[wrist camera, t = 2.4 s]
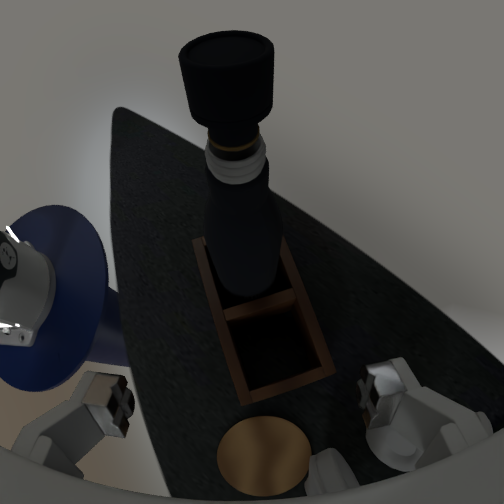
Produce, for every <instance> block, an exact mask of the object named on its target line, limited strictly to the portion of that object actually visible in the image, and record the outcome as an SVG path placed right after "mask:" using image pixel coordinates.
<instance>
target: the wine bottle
mask: <svg viewBox="0 0 504 504" xmlns="http://www.w3.org/2000/svg"><path fill="white" fill-rule="evenodd" d="M178 58H179V62H180V67H181V72H182V76H183V81H184V86H185V90H186V95H187V100H188V104H189V109H190V112H191V116H192V117H193V119H194V120H195V121H196V122H197V123H198V124H201V125H203V126H205V127H207V128H208V140H207V145H206V148H205V156H206V159H207V162H206V167H205V173H206V178H207V182H208V186H209V190H210V194H209V197H208V200H207V203H206V206H205V214H204V226H203V230H204V238H205V242H206V245H207V248H208V251H209V253H210V256H211V258H212V261H213V264H214V266H215V269H216V272H217V274H218V277H219V279H220V282H221V285H222V287H223V290H224V292H225V294H226V296H227V297H228V299H229V300H230V301H231V302H233V303H234V304H235V305H240V304H244V303H247V302H250V301H253V300H256V299H259V298H262V297H265V296H269V295H271V294H272V292H273V289H274V285H275V279H276V273H277V267H278V261H279V255H280V249H281V242H282V236H283V227H282V219H281V214H280V210H279V207H278V205H277V202H276V200H275V198H274V196H273V194H272V192H271V190H270V189H269V187H268V181H269V162H268V159H267V157H266V155H265V153H266V145H265V143H264V141H263V138H262V136H261V134H260V133H259V126H258V123H259V122H261V121H262V120H263V119H264V118H265V117H266V116H268V115H269V113H270V111H271V109H272V105H273V79H274V76H273V75H274V45H273V43H272V42H271V41H270V40H269V39H268V38H266V37H264V36H262V35H260V34H256V33H253V32H248V31H238V30H231V31H220V32H214V33H209V34H206V35H203V36H200V37H198V38H196V39H194V40H192V41H190V42H188V43H187V44H186V45H185V46H184V47H183V48H182V49H181V51H180V53H179V56H178Z"/></svg>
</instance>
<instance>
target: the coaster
mask: <svg viewBox="0 0 504 504" xmlns="http://www.w3.org/2000/svg"><path fill="white" fill-rule="evenodd" d="M310 456H312V453H311V447H310V443H309V441H308V439H307V437H306V436H305V434H304V433H303V432H302V431H301V429H300V428H298V427H297V426H296V425H295V424H293V423H292V422H290V421H288V420H285V419H283V418H279V417H275V416H256V417H251V418H248V419H245V420H243V421H241V422H239V423H237V424H236V425H234V426H233V427H232V428H230V429H229V430H228V431H227V432H226V434H225V435H224V436H223V438H222V440H221V442H220V444H219V447H218V451H217V462H218V467H219V470H220V472H221V474H222V475H223V477H224V478H225V480H226V481H227V482H228V483H229V484H230V485H232V486H233V487H234V488H236V489H237V490H239V491H241V492H244V493H247V494H250V495H254V496H272V495H277V494H280V493H283V492H286V491H288V490H290V489H291V488H293V487H294V486H296V485H297V484H298V483H299V482H300V481H301V480H302V479H303V478H304V476H305V475H306V473H307V471H308V469H309V461H310Z"/></svg>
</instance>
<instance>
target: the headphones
mask: <svg viewBox="0 0 504 504" xmlns="http://www.w3.org/2000/svg"><path fill="white" fill-rule="evenodd" d="M475 414H476V416H477V417H478V419H479V420H480V422H481V424H482V425H483V427H484V429H485V430H486V432H487V434H488V435H489V436H491V435H492V434H493V430H492V426H491V423H490V421H489V420H488V418H487V417H486V415H485V414H484V413H483V412H477V413H475ZM366 440H367V442H368V445H369V447H370V449H371V450H372V452H373V453H374V454H375V455H376V456H377V458H378V459H379V460H381V461H382V462H384V463H385V464H387V465H388V466H390V467H391V468H394V469H397V470H401V471H404V472H406V471H414V470H416V469H415V466H414V465H415V464H416V462H417V461H418V459H419V458H420V457H421V455H422V454H423V452H422V451H420V450H419V449H418V448H417V447H415V446H414V445H413V444H411V443H410V442H409V441H408V440H406V439H405V438H404V437H403V436H401V435H400V434H399V433H397V432H396V431H395V430H394V429H392V428H391V427H390V425H388V426H383V427H379V428H374V429H369V430H367V428H366ZM304 486H305V491H306V494H307V496H313V495H319V494H325V493H331V492H336V491H341V490H346V489H351V488H355V487H360V485H359V483H358V481H357V479H356V477H355V475H354V474H353V472H352V470H351V469H350V467H349V465H348V464H347V462H346V461H345V459H344V458H343V457H342V455H341V454H340V453H339V452H338V451H337V450H336V449H334V448H328V449H326V450H324V451H322V452H320V453H318V454H317V455H312V456H310V461H309V477H308V478H307V481H306V482H305V485H304Z"/></svg>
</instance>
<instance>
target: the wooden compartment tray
mask: <svg viewBox="0 0 504 504" xmlns="http://www.w3.org/2000/svg"><path fill="white" fill-rule="evenodd" d="M192 244H193V248H194V252H195V255H196V259H197V263H198V267H199V270H200V274H201V278H202V281H203V285H204V288H205V292H206V295H207V299H208V302H209V306H210V309H211V313H212V316H213V319H214V323H215V326H216V329H217V333H218V336H219V339H220V342H221V346H222V349H223V352H224V355H225V358H226V361H227V364H228V368H229V371H230V374H231V377H232V380H233V383H234V386H235V389H236V392H237V395H238V398H239V400H240V403H241V406H243V405H247V404H250V403H253V402H257V401H260V400H263V399H266V398H269V397H272V396H275V395H278V394H281V393H284V392H287V391H290V390H293V389H296V388H298V387H301V386H304V385H306V384H309V383H312V382H314V381H317V380H319V379H322V378H324V377H327V376H329V375H332V374H334V373H336V369H335V366H334V363H333V361H332V358H331V355H330V353H329V350H328V347H327V345H326V342H325V339H324V337H323V334H322V331H321V329H320V326H319V323H318V321H317V318H316V316H315V313H314V310H313V308H312V305H311V303H310V300H309V298H308V295H307V292H306V290H305V287H304V285H303V282H302V280H301V277H300V275H299V272H298V270H297V267H296V265H295V262H294V260H293V257H292V255H291V253H290V250H289V248H288V245H287V243H286V240H285V238H284V236H282V242H281V249H280V255H279V261H278V267H277V275H278V278H279V281H280V283H281V286H282V289H283V291H281V292H278V293H275V294H272V295H269V296H265V297H262V298H259V299H256V300H253V301H250V302H247V303H244V304H240V305H237V306H234V307H231V308H228V309H225V308H224V304H223V301H222V298H221V295H220V291H219V288H218V285H217V281H216V278H215V275H214V271H213V268H212V265H214V264H213V261H212V258H211V256H210V253H209V251H208V248H207V245H206V242H205V238H204V236H202V237H200V238H196V239H193V240H192ZM290 310H291V313H292V316H293V318H294V321H295V324H296V326H297V329H298V332H299V334H300V337H301V340H302V343H303V345H304V348H305V351H306V354H307V356H308V359H309V362H310V365H311V367H312V368H310V369H307V370H304V371H302V372H299V373H296V374H293V375H290V376H288V377H285V378H282V379H279V380H276V381H273V382H270V383H267V384H264V385H261V386H258V387H254V388H250V385H249V382H248V379H247V376H246V373H245V370H244V367H243V364H242V361H241V358H240V355H239V352H238V349H237V346H236V343H235V339H234V336H233V333H232V330H231V329H235V328H238V327H242V326H245V325H248V324H251V323H254V322H257V321H260V320H263V319H266V318H270V317H273V316H275V315H278V314H281V313H284V312H287V311H290Z"/></svg>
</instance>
